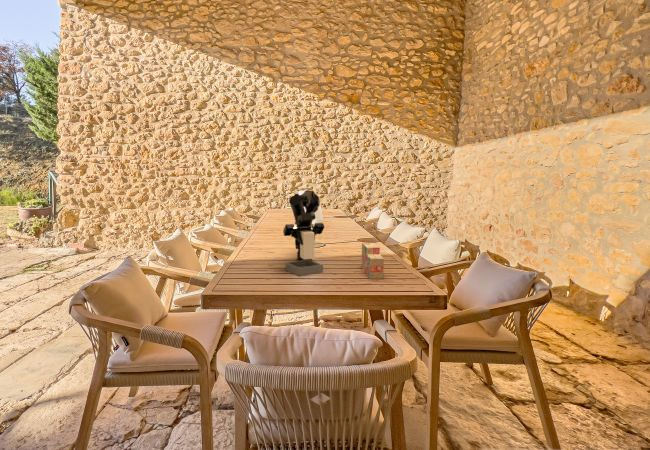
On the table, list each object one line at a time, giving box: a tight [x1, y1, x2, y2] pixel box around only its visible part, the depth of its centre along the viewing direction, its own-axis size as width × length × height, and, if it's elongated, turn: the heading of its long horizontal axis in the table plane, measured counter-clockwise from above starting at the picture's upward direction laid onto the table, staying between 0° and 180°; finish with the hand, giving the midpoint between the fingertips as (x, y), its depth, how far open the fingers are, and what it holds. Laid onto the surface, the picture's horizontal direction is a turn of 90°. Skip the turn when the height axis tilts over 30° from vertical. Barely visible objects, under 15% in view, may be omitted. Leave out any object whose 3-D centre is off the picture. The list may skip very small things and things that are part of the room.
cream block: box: [300, 231, 315, 260], centre depth 172 cm, size 5×5×12 cm
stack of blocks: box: [361, 242, 385, 280], centre depth 174 cm, size 21×6×12 cm, turn 4°
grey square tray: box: [284, 259, 324, 277], centre depth 175 cm, size 13×13×4 cm
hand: (308, 244), depth 170 cm, fingers closed on cream block, 5 cm apart
